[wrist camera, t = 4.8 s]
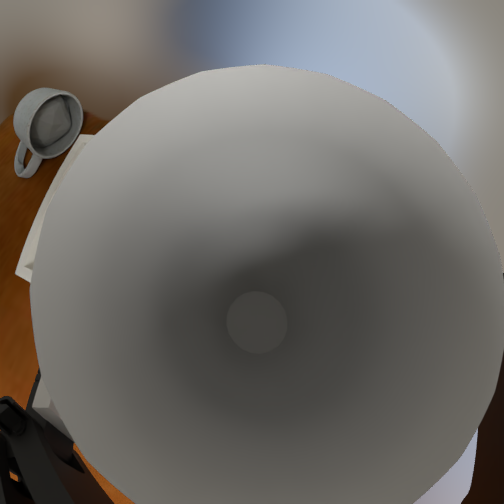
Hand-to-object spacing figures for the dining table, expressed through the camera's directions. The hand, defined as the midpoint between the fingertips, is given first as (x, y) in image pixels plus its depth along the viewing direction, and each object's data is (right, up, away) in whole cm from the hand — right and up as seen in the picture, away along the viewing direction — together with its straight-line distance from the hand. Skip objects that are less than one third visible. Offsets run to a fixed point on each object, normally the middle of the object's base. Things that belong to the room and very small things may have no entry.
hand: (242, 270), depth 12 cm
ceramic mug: (-24, +14, +13) cm, 31 cm away
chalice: (0, -5, +8) cm, 10 cm away
